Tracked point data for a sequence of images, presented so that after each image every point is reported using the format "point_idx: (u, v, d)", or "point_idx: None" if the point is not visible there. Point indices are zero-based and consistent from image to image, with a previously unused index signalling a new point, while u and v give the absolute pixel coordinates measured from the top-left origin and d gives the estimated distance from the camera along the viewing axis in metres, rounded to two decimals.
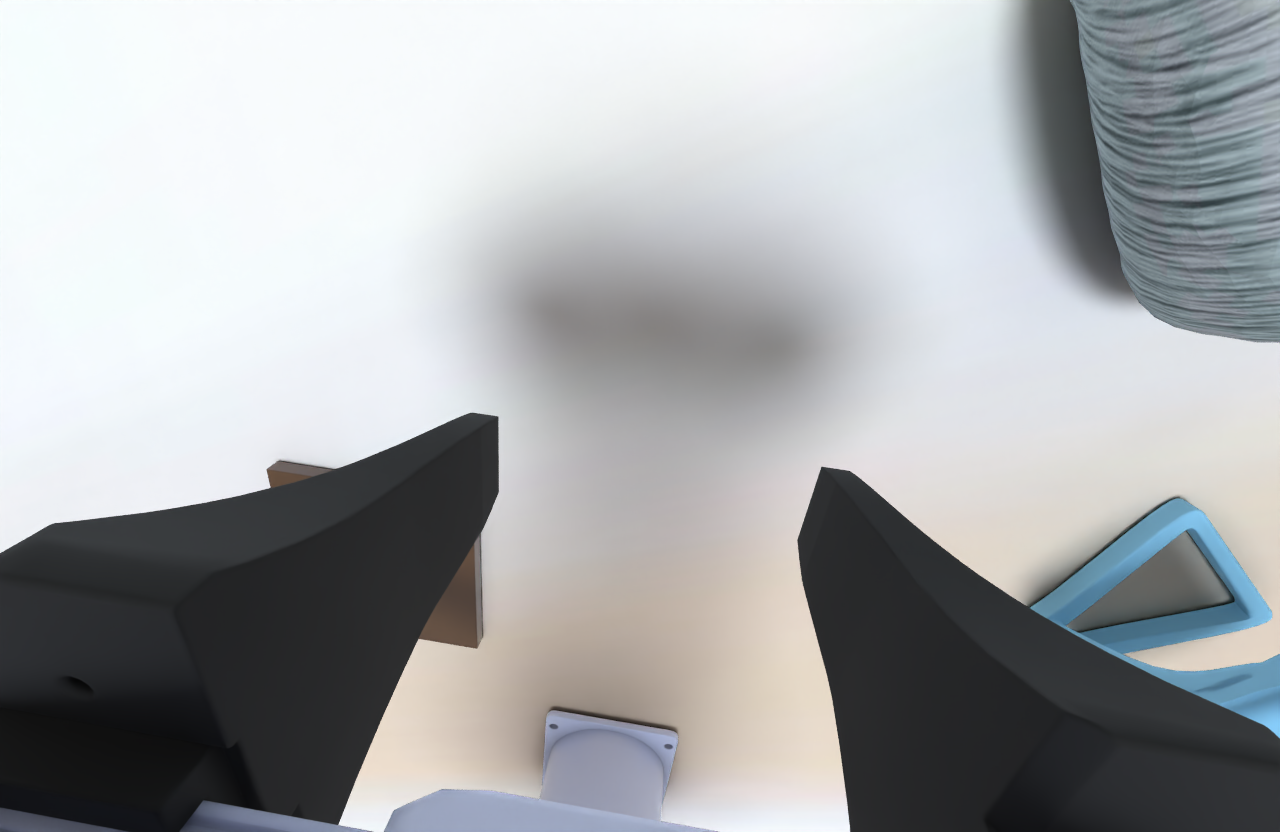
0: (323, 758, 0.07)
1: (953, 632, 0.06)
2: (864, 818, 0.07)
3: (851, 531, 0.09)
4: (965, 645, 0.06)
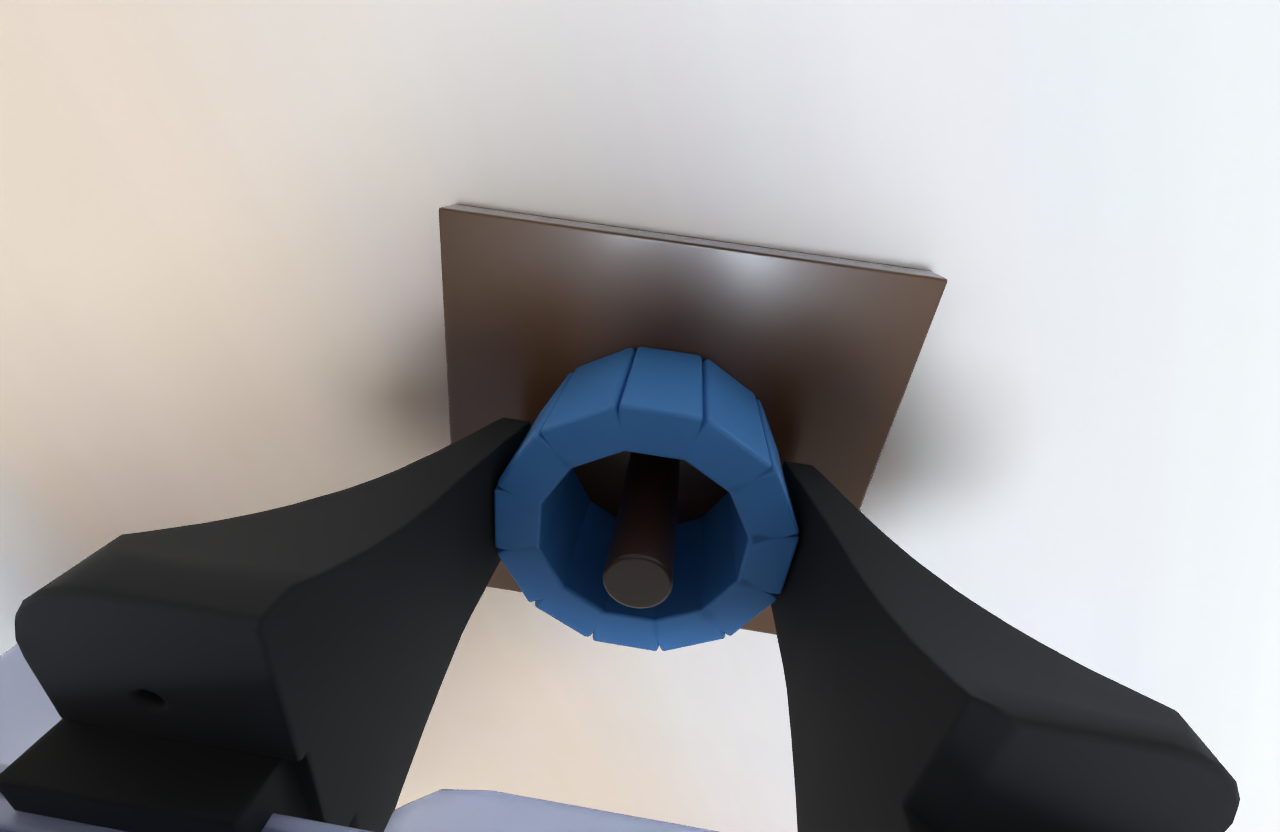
0: (376, 767, 0.07)
1: (885, 621, 0.06)
2: (808, 808, 0.07)
3: (806, 524, 0.09)
4: (894, 632, 0.06)
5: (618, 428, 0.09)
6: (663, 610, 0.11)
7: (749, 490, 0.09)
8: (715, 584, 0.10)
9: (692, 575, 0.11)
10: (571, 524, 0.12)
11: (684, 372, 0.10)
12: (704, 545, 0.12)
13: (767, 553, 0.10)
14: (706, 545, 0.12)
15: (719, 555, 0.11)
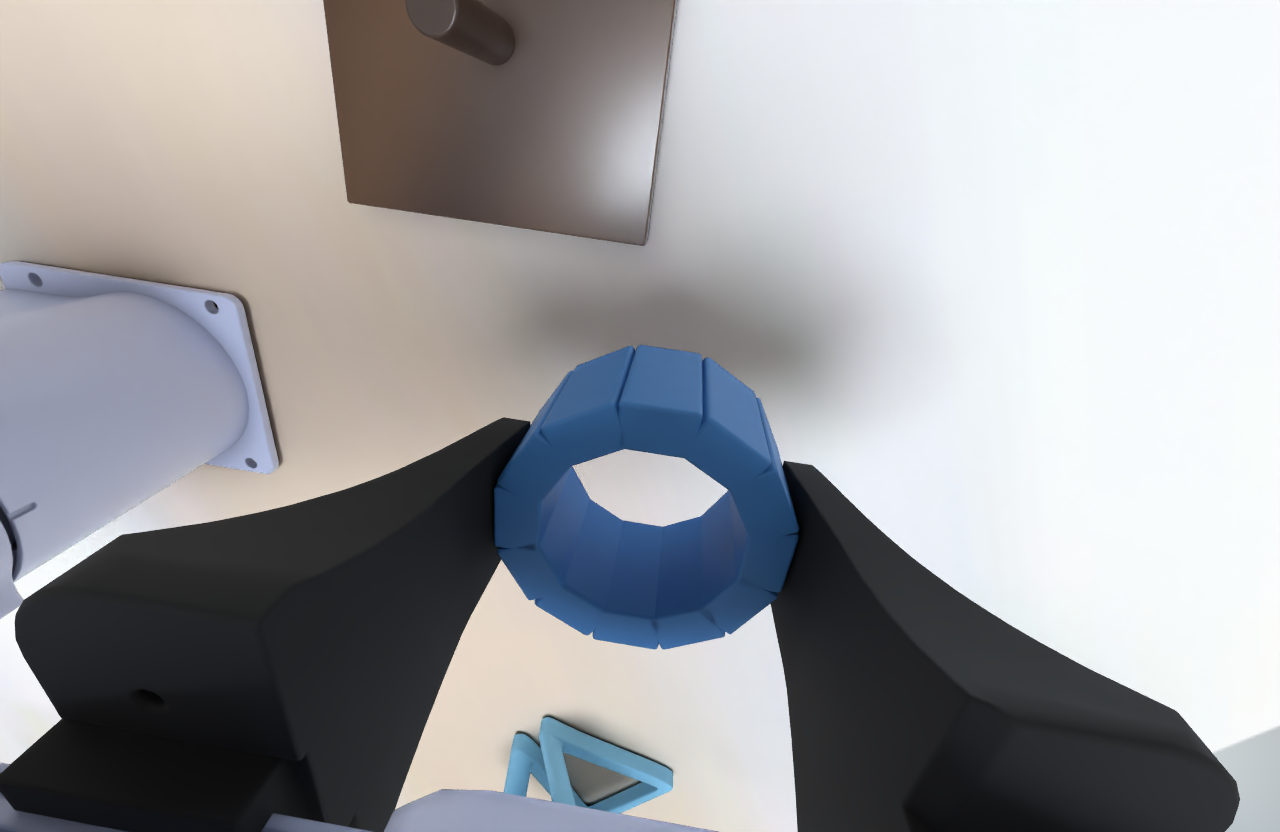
0: (376, 767, 0.07)
1: (885, 621, 0.06)
2: (808, 808, 0.07)
3: (806, 524, 0.09)
4: (894, 632, 0.06)
5: (618, 426, 0.09)
6: (663, 609, 0.11)
7: (749, 488, 0.09)
8: (715, 582, 0.10)
9: (692, 573, 0.11)
10: (571, 523, 0.12)
11: (684, 370, 0.10)
12: (704, 544, 0.12)
13: (767, 551, 0.10)
14: (705, 543, 0.12)
15: (719, 553, 0.11)
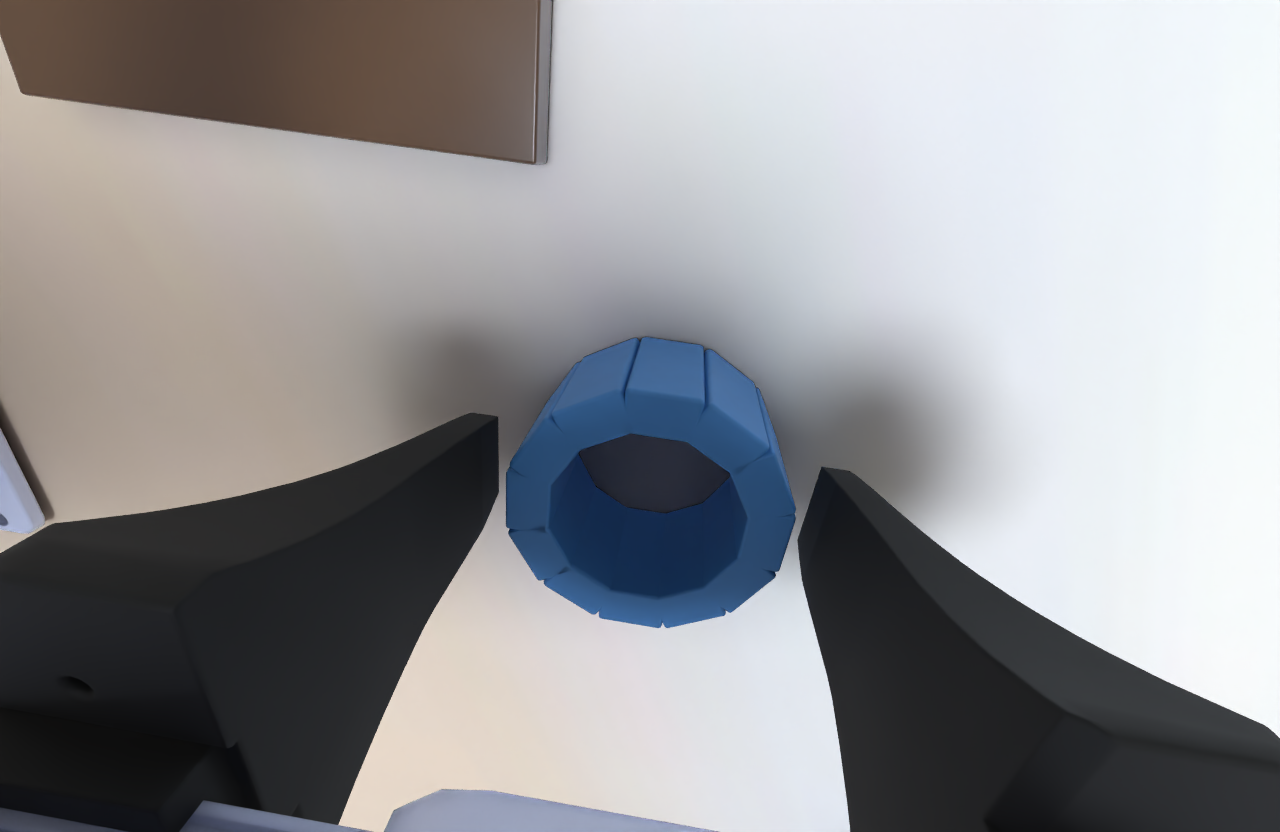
0: (323, 758, 0.07)
1: (953, 632, 0.06)
2: (864, 818, 0.07)
3: (851, 531, 0.09)
4: (965, 645, 0.06)
5: (624, 411, 0.09)
6: (666, 588, 0.11)
7: (749, 470, 0.09)
8: (716, 563, 0.11)
9: (694, 555, 0.12)
10: (578, 507, 0.12)
11: (687, 360, 0.11)
12: (705, 528, 0.12)
13: (765, 532, 0.10)
14: (707, 528, 0.12)
15: (720, 536, 0.12)
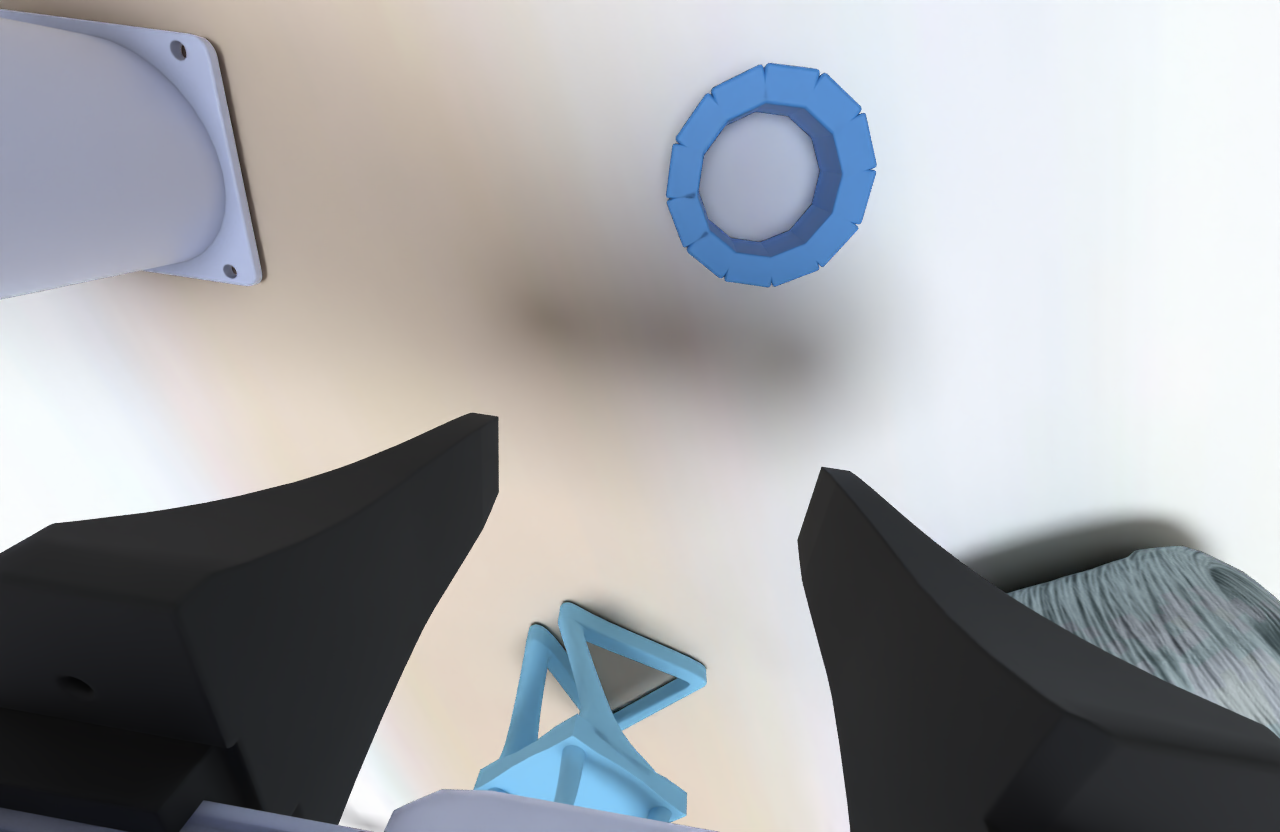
0: (323, 758, 0.07)
1: (953, 632, 0.06)
2: (864, 818, 0.07)
3: (851, 531, 0.09)
4: (965, 645, 0.06)
5: (764, 82, 0.14)
6: (776, 252, 0.16)
7: (846, 129, 0.14)
8: (813, 229, 0.15)
9: (792, 240, 0.16)
10: (705, 211, 0.16)
11: None
12: (797, 231, 0.17)
13: (854, 185, 0.14)
14: (798, 233, 0.17)
15: (812, 221, 0.16)
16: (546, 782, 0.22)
